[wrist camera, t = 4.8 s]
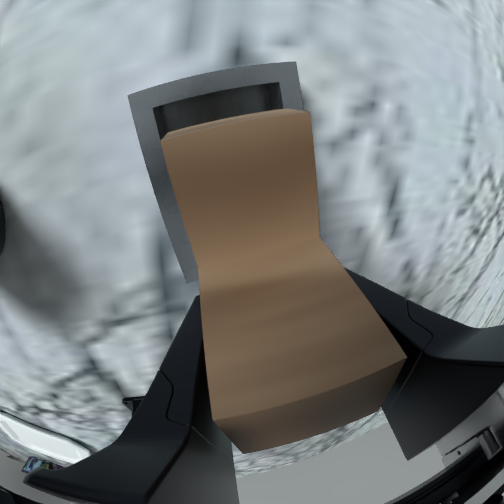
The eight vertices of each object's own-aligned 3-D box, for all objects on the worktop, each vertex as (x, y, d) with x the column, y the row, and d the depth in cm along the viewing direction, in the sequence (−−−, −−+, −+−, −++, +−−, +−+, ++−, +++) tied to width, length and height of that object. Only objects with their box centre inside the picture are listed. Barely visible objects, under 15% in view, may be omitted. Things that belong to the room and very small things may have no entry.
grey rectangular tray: (301, 232, 19) (315, 251, 17) (187, 260, 18) (186, 283, 16) (280, 66, 13) (296, 61, 10) (138, 95, 12) (127, 95, 10)
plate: (95, 462, 45) (95, 469, 43) (15, 435, 36) (14, 441, 34) (88, 439, 34) (87, 448, 33) (-16, 397, 25) (-18, 406, 24)
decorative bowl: (20, 443, 43) (16, 466, 35) (94, 475, 54) (92, 498, 45) (27, 455, 52) (24, 474, 44) (87, 480, 63) (86, 499, 54)
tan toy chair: (303, 272, 12) (378, 410, 6) (215, 295, 12) (243, 454, 6) (286, 108, 8) (460, 156, 2) (168, 132, 8) (94, 231, 2)
